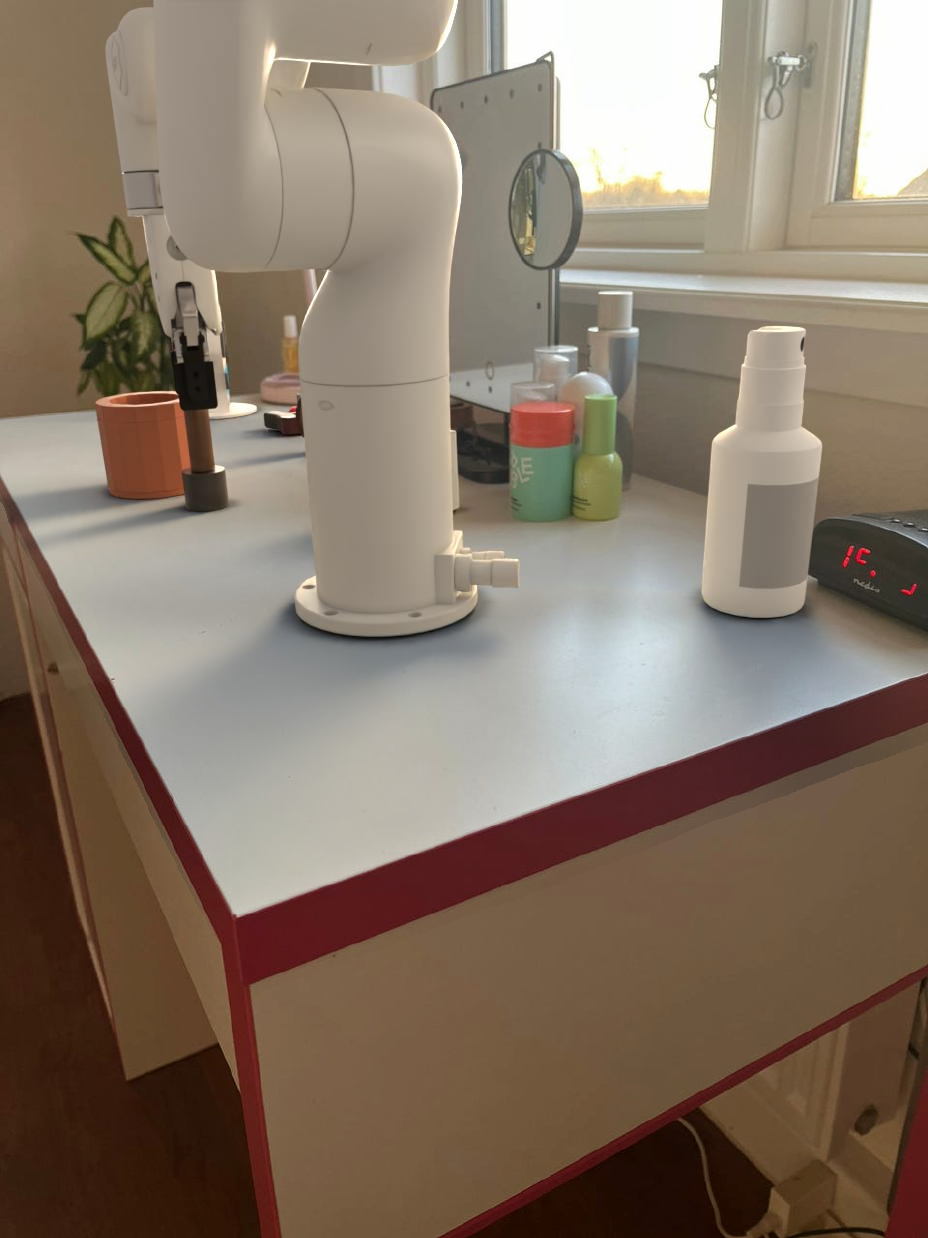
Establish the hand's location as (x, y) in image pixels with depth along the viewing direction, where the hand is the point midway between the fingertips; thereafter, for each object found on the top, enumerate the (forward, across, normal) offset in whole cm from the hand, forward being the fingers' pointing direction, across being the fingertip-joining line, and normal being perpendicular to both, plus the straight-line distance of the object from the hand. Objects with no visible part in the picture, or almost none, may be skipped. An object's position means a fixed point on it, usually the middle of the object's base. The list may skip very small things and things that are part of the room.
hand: (196, 400), depth 91 cm
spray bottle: (+10, -40, -34) cm, 53 cm away
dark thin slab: (+10, +18, -17) cm, 26 cm away
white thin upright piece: (+10, -9, -18) cm, 22 cm away
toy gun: (+10, +36, -16) cm, 40 cm away
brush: (+10, 0, 0) cm, 10 cm away
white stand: (+10, +53, -5) cm, 54 cm away
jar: (+10, +10, +4) cm, 15 cm away
